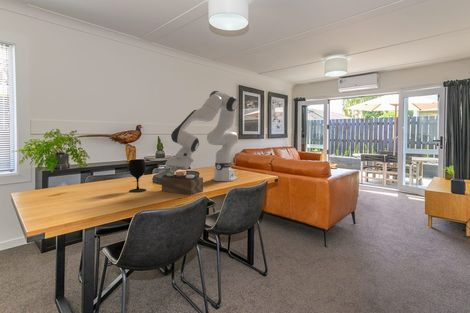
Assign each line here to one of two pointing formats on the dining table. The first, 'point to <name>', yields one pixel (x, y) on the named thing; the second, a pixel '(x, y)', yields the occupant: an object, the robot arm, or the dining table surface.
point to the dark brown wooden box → (182, 184)
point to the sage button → (170, 174)
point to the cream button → (190, 176)
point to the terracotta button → (179, 173)
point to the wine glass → (137, 172)
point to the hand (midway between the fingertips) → (171, 172)
